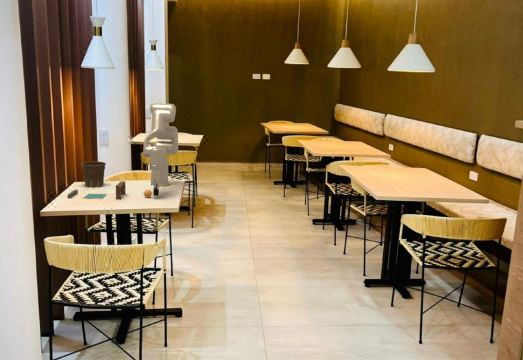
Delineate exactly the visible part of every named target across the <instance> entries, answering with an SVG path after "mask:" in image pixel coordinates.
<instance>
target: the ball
mask: <svg viewBox="0 0 523 360" xmlns="http://www.w3.org/2000/svg"><path fill="white" fill-rule="evenodd" d="M152 194H153V192H152V190H150V189H145V190H144V192H143V196H144V197H145V198H147V199H148V198H150V197H152Z"/></svg>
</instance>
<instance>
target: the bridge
mask: <svg viewBox="0 0 523 360" xmlns="http://www.w3.org/2000/svg"><path fill="white" fill-rule="evenodd" d="M126 190H127V189H126V181H125V180H124V181H121V180H120V181H119V182H118V183H117V184H116V185H115V200H123V199H122V196H126V195H127V194H126Z"/></svg>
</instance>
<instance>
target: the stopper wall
mask: <svg viewBox="0 0 523 360" xmlns="http://www.w3.org/2000/svg"><path fill="white" fill-rule="evenodd" d="M78 194H79V190H78V189H73V190H72V191H70V192H69V193H67V199H73V198H74V197H75V196H77V195H78Z"/></svg>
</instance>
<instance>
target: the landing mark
mask: <svg viewBox="0 0 523 360" xmlns="http://www.w3.org/2000/svg"><path fill="white" fill-rule="evenodd" d="M107 195H108V194H107V193H88V194H86V195H85V196H84V197H83V199H92V200H93V199H95V200H96V199H98V200H99V199H100V200H101V199H104V198H105V197H106V196H107Z"/></svg>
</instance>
